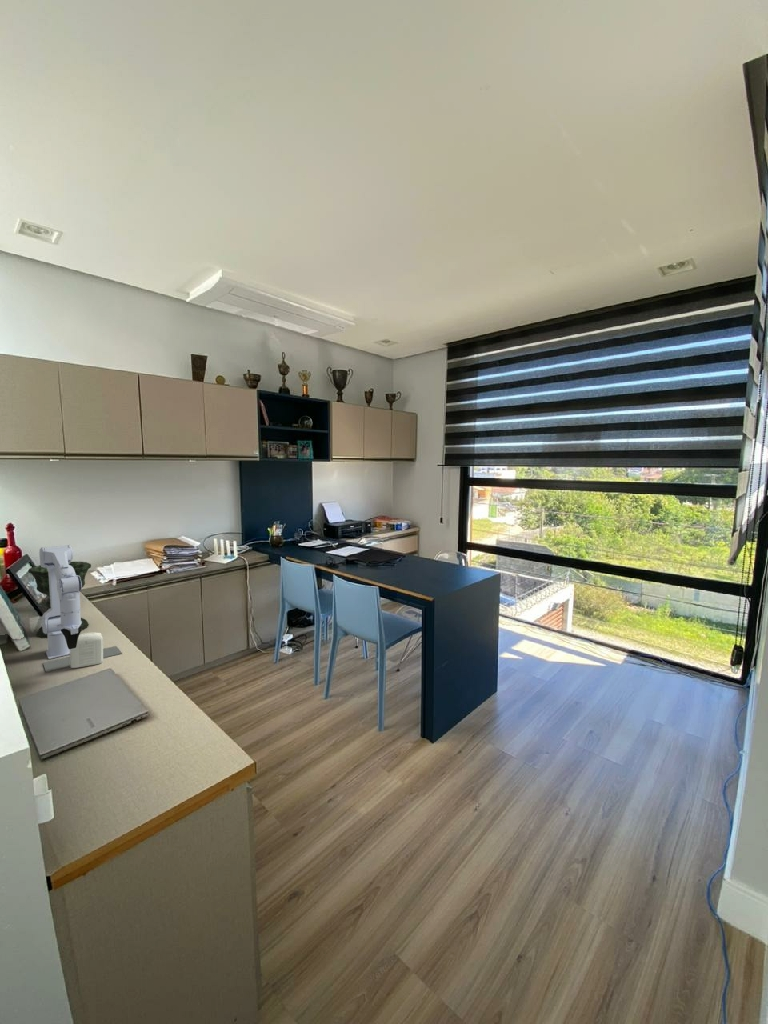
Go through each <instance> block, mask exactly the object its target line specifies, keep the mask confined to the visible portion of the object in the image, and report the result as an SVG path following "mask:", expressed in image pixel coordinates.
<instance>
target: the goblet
mask: <svg viewBox="0 0 768 1024" xmlns="http://www.w3.org/2000/svg"><path fill="white" fill-rule="evenodd" d="M69 565H70V566H72V567H73V568H74V571H75V573H76V575H78V576H80V578H81V582H82V588H83V587H85V584H86V580H85V579H86V575H87V572H88V571H89V569H91V567H92V564H91V563H90V562H87V561H71V562H70V564H69ZM27 572H28V574H30V575H32V576H33V578H34V580H35V583H36V590H37V592H39V593H41V594H44V595H46V596H49V597H48V600H47V601H46V602H45V606H46V608H47V609H48V610H49V609H50V608H51V604H50V589H49V573H48V570H47V568H44V567H41V565H40V564H39V565H36V566H33V567H30V568H29V569H28V571H27ZM58 616H60V615H58ZM81 621H82V624H81V625H80V626H81V628H82V631H83V630H85V629H87V628H88V627H89V626H90V624H89V622H88V621H87V620H86V619H85V618H84V617H81ZM36 636H38V637H39V638H48V636H47V634H45V633H43V629H42V625H41V626H40V627H39V628H38V630H37V632H36Z"/></svg>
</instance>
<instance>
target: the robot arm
mask: <svg viewBox="0 0 768 1024" xmlns="http://www.w3.org/2000/svg"><path fill="white" fill-rule="evenodd" d="M38 554H39V565H41V567H44V568H47V570H48V573H49V589H50V604H51V608H50V609H49V608H48V610H46V611H45V612H44V613H43V614H42V616H41V617H42V619H41V626H42V629H43V633H45V634H47V636H48V637H47V649H46V650H45V654H46V657H47V659H48V660H51V659H54V658H60V657H63V656H68V655H69V656H70V649H73V648H76V646H77V641H78V637H79V635H80V634H81V632H82V631H83V630H82V628H81V626H80V625H81V624H82V621H81V618H82V617H81V614H82V613H81V593H80V592H82V588H83V587H82V582H81V578H80V576H78V575H76V573H75V571H74V568H73V567H72V566H70V565H69V564H70V562H72V561H73V559H74V551H73V546H71V545H70V544H68V545H57V546H47V547H46V546H45V547H43V546H41V547H40V548H39V552H38ZM58 615H60V616H58Z"/></svg>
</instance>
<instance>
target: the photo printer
mask: <svg viewBox="0 0 768 1024" xmlns="http://www.w3.org/2000/svg"><path fill="white" fill-rule="evenodd" d="M103 649H104V638H103V636H102V633H101V632H84V633H80V634H79V637H78V641H77V646H76V648H73V649H70V654H69V657H70V667H69V668H71V669H76V668H77V669H78V668H83V667H89V666H94V665H100V664H102V663H104V658H103Z"/></svg>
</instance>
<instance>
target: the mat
mask: <svg viewBox="0 0 768 1024" xmlns="http://www.w3.org/2000/svg"><path fill="white" fill-rule="evenodd" d="M122 654H123V652H122V651H121V650H120V648H118V646H117V645H114V646H109V647H105V648H104V647H103V659H107V658H110V657H111V658H112V657H115V656H119V655H122ZM42 665H43V669H44V671H45V672H46V673H50V672H53V671H58V670H62V669H67V668H71V667H70V656H66V657H63V658H62V657H61V658H57V659H53V660H49V661H48V660H47V661H45V662H42Z"/></svg>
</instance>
